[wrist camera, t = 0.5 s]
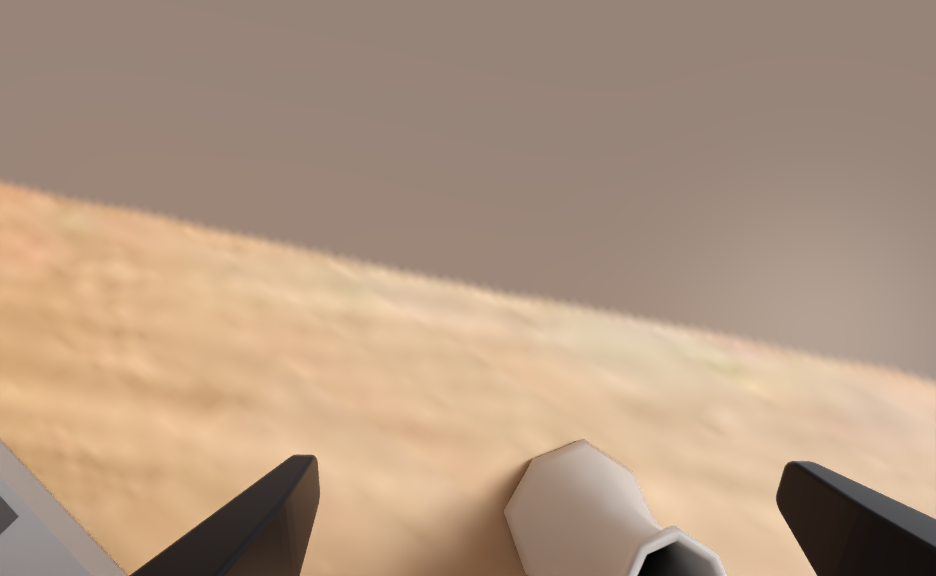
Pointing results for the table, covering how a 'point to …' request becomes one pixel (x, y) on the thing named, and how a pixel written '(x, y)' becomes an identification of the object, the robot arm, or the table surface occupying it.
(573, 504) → the flask
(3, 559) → the grey piece
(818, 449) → the table surface
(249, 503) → the robot arm
